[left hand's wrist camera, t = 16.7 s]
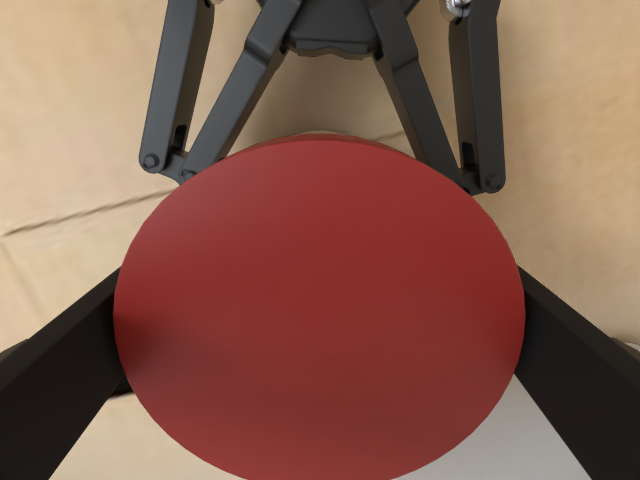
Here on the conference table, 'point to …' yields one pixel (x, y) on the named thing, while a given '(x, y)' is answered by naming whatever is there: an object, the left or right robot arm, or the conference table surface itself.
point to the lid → (319, 312)
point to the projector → (508, 446)
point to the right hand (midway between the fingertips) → (315, 302)
